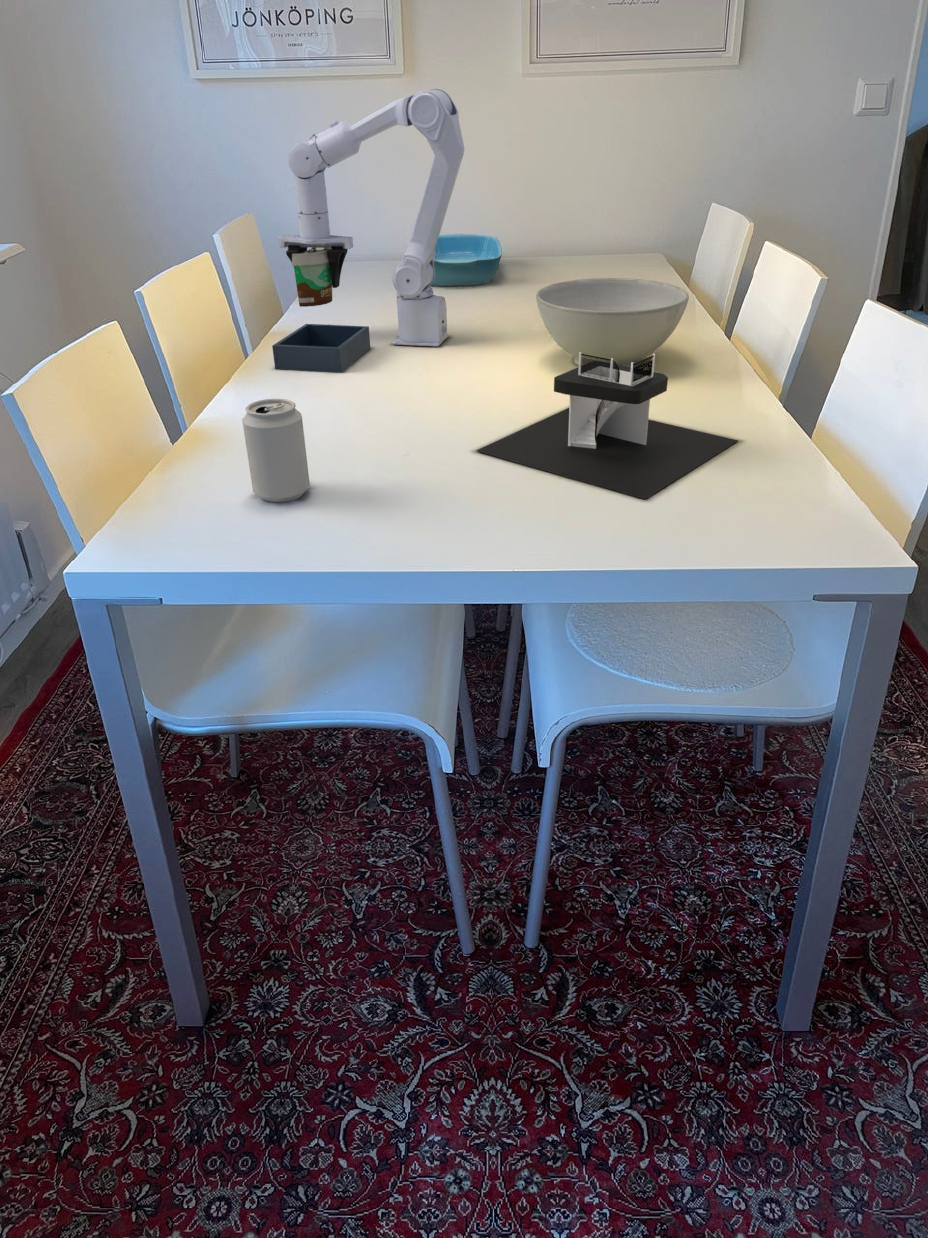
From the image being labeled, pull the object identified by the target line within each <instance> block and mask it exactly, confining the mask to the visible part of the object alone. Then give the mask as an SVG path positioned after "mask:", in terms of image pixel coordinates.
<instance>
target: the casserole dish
mask: <svg viewBox="0 0 928 1238" xmlns="http://www.w3.org/2000/svg"><path fill="white" fill-rule="evenodd" d="M502 256H503V248H502V245H501V241H500V239H499V238H498V237H496V236H492V235H485V234H484V235H482V234H472V233H471V234H469V233H452V234H450V233H449V234H447V233H446V234H439V238H438V241H437V244H436V256H435V259H434V269H435V275H434V279H433V281H432V282H431V283H430V286H433V287H456V286H461V287H463V286H464V287H465V286H481V285H486V284H489V283H490V282H491V281H492V280H493V279H494V278H495V277H496V275H497V272H498V269H499V266H500V262H501V259H502Z"/></svg>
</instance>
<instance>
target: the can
mask: <svg viewBox="0 0 928 1238" xmlns="http://www.w3.org/2000/svg"><path fill="white" fill-rule="evenodd" d="M296 407H297V405H296V402H295V401H293V400H291V399H286V398H266V399H261V400H256V401H252V402H251V403H249V404H247V406H246V407H245V412H246V413H245V415H244V416H243V418H242V419H241V421H242V427H243V435H244V440H245V446H246V447H245V448H246V454H247V460H248V461H247V462H248V468H249V474H250V480H251V489H252V493H253V494H255V496H257V497H259V498H260V499H261V500H264V501H266V502H270V503H285V502H290V501H294V500H297V499H299V498H301V497H302V496H303V495H304V494H305V492H306V491H308V490H309V488H310V486H311V483H310V475H309V466H308V465H309V464H308V456H307V448H306V440H305V439H306V438H305V431H304V422H303V415H302V413H301V412H300V411H299V410H297V408H296Z"/></svg>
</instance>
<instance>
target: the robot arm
mask: <svg viewBox="0 0 928 1238" xmlns="http://www.w3.org/2000/svg"><path fill="white" fill-rule="evenodd" d="M459 118H460V117H459V109H458V107H457V106H456V104H455V102H454V101H453V99H452V97H451V96H450V94H449V93H448V92H446V91H445V90H444V89H442V88H441V89H440V88H432V89H429V90H421V91H418V92H416V93H415V94H411V95H408V96H405V97H401V98H399V99H395V100H394V101H392V102H390V103H388V104H387V105H385V106H383V107H381V108H380V109H378V110H376V111H373V113H371V114H369V115H367V116H365V117H364V118H363V119H360V120H359V121H357V122H356V123H353V124H352V123H349V122H348V121H344V120H342V121H340V122H339V121H338V120H334V121H332V122H330V123H329V126H330V127H329V128H327V129H325V130H323V131H322V132H320V133H318V134H315V133H312V134H310V135H308V137H307V138H308V141H304V142H303V141H299V142H296V143H295V145H294V146H292V147H291V148H290V150H289V152H288V154H287V165H288V167H289V169H290V171H291V172H292V173H293V177H294V178H293V179H294V189H295V198H296V199H295V200H296V208H297V217H298V218H297V219H298V227H299V228H298V229H299V234H293V235H291V234H290V235H289V234H287V235H280V236H278V242H279V248H281V249H283V248H287V250H286V251H285V254H286V256H287V258H288V259H289V261H290V262H291V263H292V254H301V253H302V252H303V251H305V250H308V248H310V249H311V248H331V250H329V251H327V255H328V259H329V263H330V269H331V280H332V289H336V288H339V287H340V282H341V274H342V269H343V265H344V262H345V259H346V257H347V254H348V250H351V249H352V248H354V239H353V238H354V237H353V236H345V235H344V236H343V235H336V234H335V235H332V234H331V231H330V219H329V208H328V207H329V206H328V197H327V196H328V195H327V186H326V179H325V177H326V176H325V172H326V170H327V168H332V167H333V166H335V165H338V164H339V163H341V162H343V161H345V160H347V159H348V158H351V157H352V156H355V155H356V154H358V153H359V151H360V148H361V144H362V142H364V141H366V140H369V139H370V138H372V137H375V136H377V135H378V134H381V133H383V132H385V131H388V130H389V129H391V128H394V127H396V126H402V127H411V126H413V127H414V128H415V129H416V130H417V131H418V132H419V133H420V134H421V135H422V136H423V137H424V138H425V139H426V141H427V144H429V147H430V148H431V150H432V152H433V154H434V157H433V160H432V164H431V168H430V171H429V175H428V178H427V181H426V185H425V188H424V193H423V195H422V199H421V203H420V206H419V210H418V213H417V216H416V220H415V223H414V227H413V231H412V233H411V238H410V241H409V243H408V245H407V247H406V250H405V252H404V254H403V257H402V260H401V261H400V263H399V265H397V267H396V268H395V269H394V271H393V273H392V285H393V288H394V290H395V291H396V294H395V295H396V309H397V310H396V311H397V326H398V327H397V328H398V329H397V330H398V336H397V337H396V338H395V339H394V340H393V341H392V345H395V346H396V345H397V346H398V345H399V346H415V347H416V346H418V347H439V346H440V345H441V344H442V343H443V342H444V341H446V339H448V337H449V333H448V317H447V316H448V314H447V301H446V298H445V297H444V296H442V295H436V294H434V290H433V287H432V285H430V283H431V282H432V281H433V279H434V275H435V269H434V259H435V256H436V244H437V241H438V238H439V235H441V231H442V227H443V224H444V222H445V217H446V214H447V212H448V208H449V204H450V201H451V198H452V195H453V191H454V189H455V188H454V187H455V185H456V181H457V178H458V174H459V171H460V169H461V168H460V167H461V165H462V161H463V158H464V155H465V145H464V139H463V134H462V129H461V125H460V119H459ZM323 244H325V245H323Z"/></svg>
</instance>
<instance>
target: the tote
mask: <svg viewBox="0 0 928 1238" xmlns="http://www.w3.org/2000/svg"><path fill="white" fill-rule="evenodd" d="M271 348H272V355H273V363H274V364H273V365H274V369H275V370H286V371H288V370H289V371H305V372H306V371H307V372H308V371H309V372H327V373H343V372H344V371H345V370H347V369H348V368H349V367H350V366H352V365H353V364H354V363H355V362H356V361H357V360H359V359H360V358H361V357H362V356H364V355H365V354H366V353H367V352H369V351H370V350H371V348H372V347H371V337H370V327H369V326H368V325H367V326H366V325H365V326H364V325H343V324H320V323H305V324H303V325H302V326H300V327H299V328H297V329H295V330H293V331H292V332H291V333H290V334H288V335H286V336H285V337H283V338H282V339H280V340H279V341H277V342H276V343H273V344H272V347H271Z"/></svg>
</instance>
